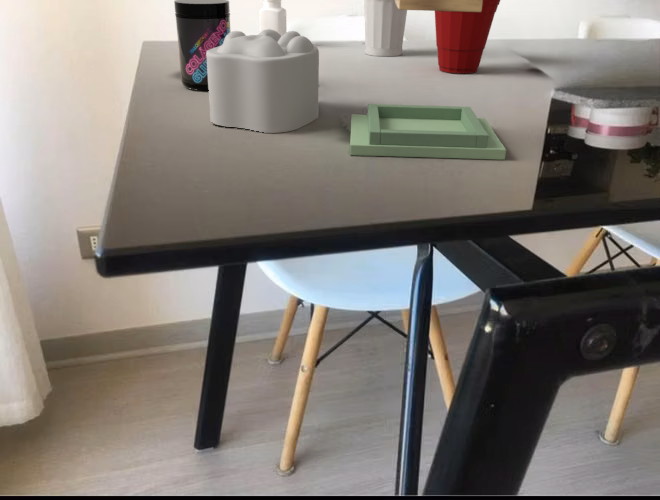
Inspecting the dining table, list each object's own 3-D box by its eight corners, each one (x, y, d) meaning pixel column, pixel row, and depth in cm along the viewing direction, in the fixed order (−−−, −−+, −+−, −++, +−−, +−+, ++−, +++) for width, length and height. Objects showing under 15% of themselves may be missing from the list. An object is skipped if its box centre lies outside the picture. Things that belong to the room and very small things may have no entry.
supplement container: (174, 90, 80) (166, 2, 75) (190, 80, 86) (183, -3, 81) (226, 93, 79) (221, 4, 74) (238, 82, 85) (235, -1, 81)
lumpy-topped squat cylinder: (197, 123, 66) (191, 37, 62) (256, 98, 77) (253, 23, 73) (287, 135, 62) (286, 45, 59) (335, 107, 73) (337, 29, 69)
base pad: (483, 127, 67) (486, 106, 66) (504, 160, 57) (508, 136, 56) (351, 123, 67) (351, 103, 66) (349, 155, 57) (350, 131, 56)
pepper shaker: (268, 43, 117) (266, -13, 113) (287, 44, 116) (287, -12, 111) (258, 46, 113) (256, -11, 109) (279, 47, 112) (278, -10, 108)
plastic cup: (510, 73, 94) (523, -14, 89) (455, 79, 89) (464, -12, 84) (462, 61, 102) (470, -19, 97) (408, 66, 97) (414, -18, 92)
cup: (394, 48, 113) (398, -24, 108) (414, 56, 106) (420, -21, 101) (353, 50, 111) (355, -24, 105) (371, 58, 104) (375, -21, 99)
